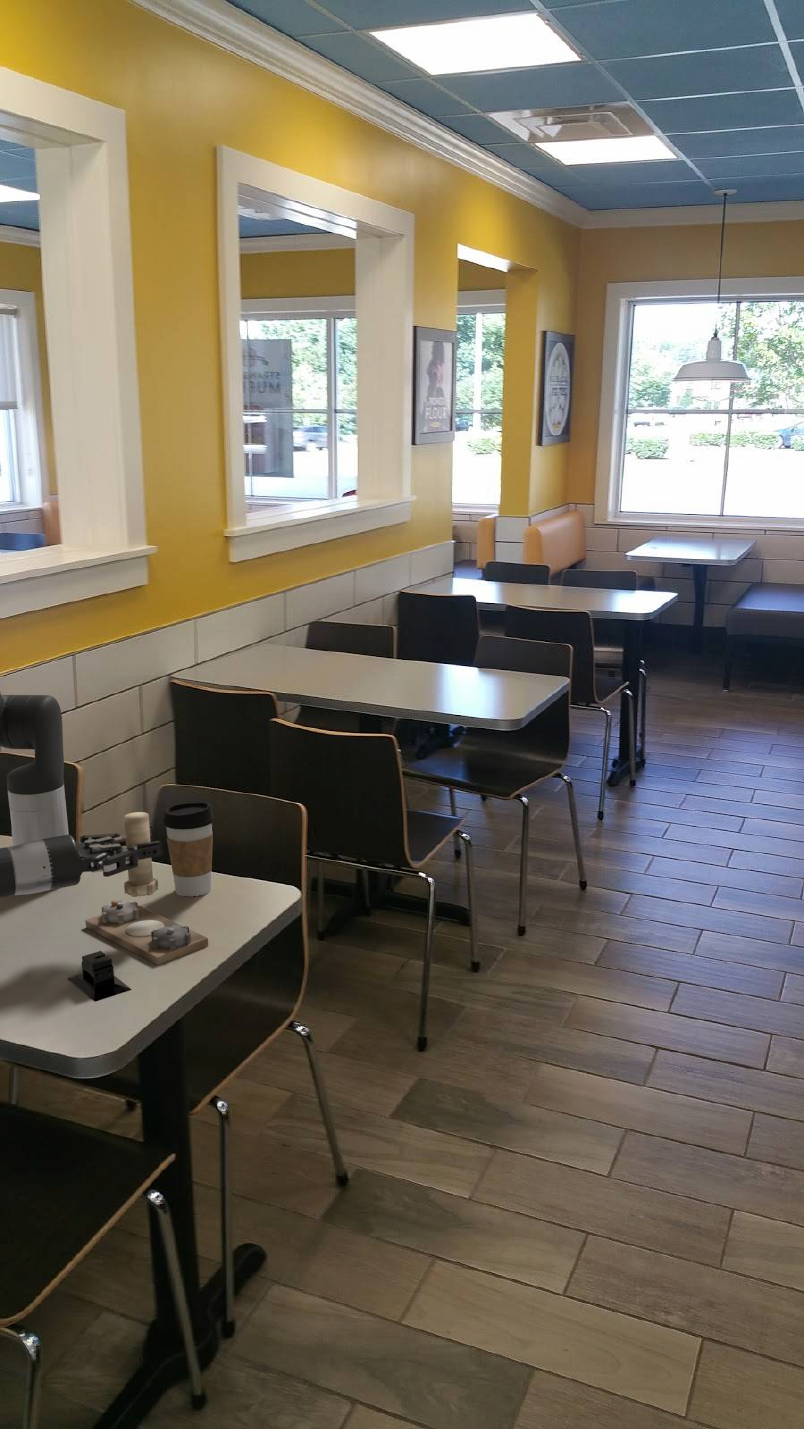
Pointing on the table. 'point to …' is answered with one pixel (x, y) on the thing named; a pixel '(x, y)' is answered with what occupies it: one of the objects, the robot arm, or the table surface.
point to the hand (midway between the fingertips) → (156, 844)
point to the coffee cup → (190, 846)
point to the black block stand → (98, 977)
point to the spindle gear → (141, 875)
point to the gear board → (145, 932)
